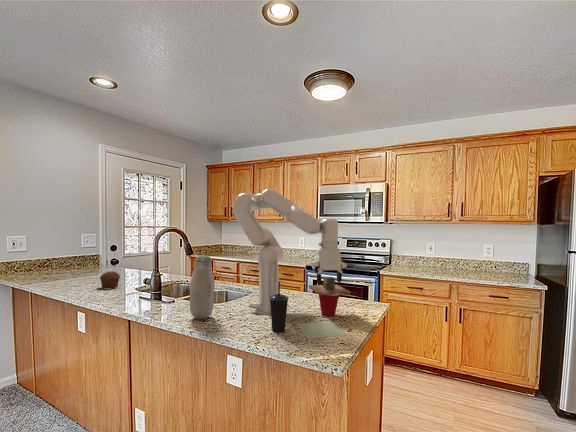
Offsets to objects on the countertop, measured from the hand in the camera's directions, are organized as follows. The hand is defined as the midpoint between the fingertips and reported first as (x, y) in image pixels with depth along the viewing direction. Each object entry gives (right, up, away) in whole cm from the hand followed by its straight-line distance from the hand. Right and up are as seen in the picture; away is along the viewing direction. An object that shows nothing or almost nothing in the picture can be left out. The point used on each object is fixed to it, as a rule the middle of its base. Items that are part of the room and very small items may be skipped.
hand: (329, 282), depth 138 cm
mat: (-6, -15, -19) cm, 25 cm away
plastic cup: (0, -16, 0) cm, 16 cm away
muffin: (-134, -15, +53) cm, 145 cm away
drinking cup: (-23, -15, -21) cm, 35 cm away
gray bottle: (-58, -15, -5) cm, 60 cm away
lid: (0, -4, 0) cm, 4 cm away
